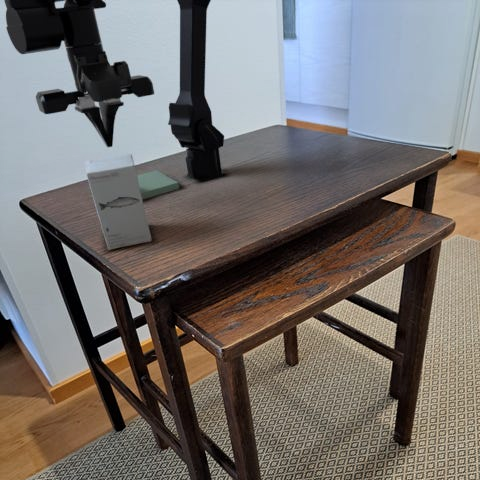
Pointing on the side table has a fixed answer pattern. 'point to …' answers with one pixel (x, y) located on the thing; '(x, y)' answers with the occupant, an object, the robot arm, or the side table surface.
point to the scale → (155, 184)
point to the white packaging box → (118, 201)
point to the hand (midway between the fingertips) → (109, 146)
